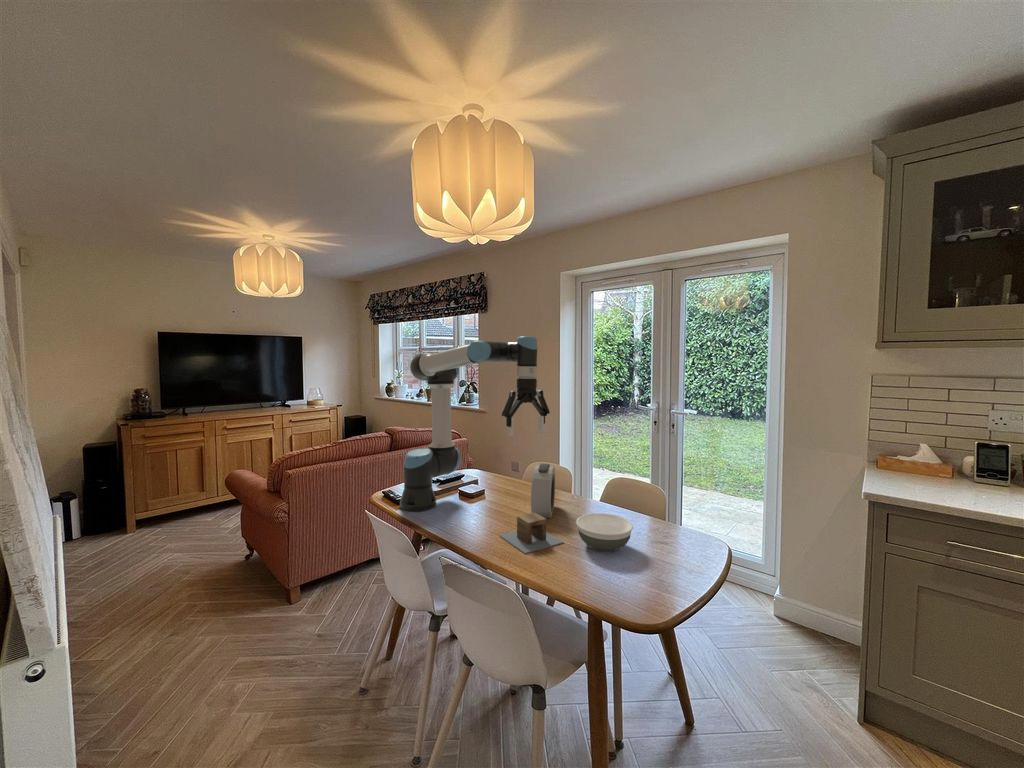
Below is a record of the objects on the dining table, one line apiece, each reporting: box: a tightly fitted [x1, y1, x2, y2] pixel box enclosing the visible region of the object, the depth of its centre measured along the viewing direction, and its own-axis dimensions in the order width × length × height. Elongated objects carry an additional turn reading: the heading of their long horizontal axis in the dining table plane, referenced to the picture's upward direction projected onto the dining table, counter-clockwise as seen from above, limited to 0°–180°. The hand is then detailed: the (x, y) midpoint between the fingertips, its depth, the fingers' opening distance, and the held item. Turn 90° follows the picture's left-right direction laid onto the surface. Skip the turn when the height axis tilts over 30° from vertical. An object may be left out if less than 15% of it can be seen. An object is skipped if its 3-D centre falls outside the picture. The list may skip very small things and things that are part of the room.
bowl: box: [575, 512, 634, 553], centre depth 143 cm, size 19×19×8 cm
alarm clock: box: [530, 463, 556, 519], centre depth 175 cm, size 21×8×20 cm, turn 168°
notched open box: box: [516, 512, 547, 545], centre depth 148 cm, size 8×7×8 cm
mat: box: [499, 530, 564, 555], centre depth 148 cm, size 16×16×1 cm
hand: (526, 434), depth 161 cm, fingers open, 13 cm apart
